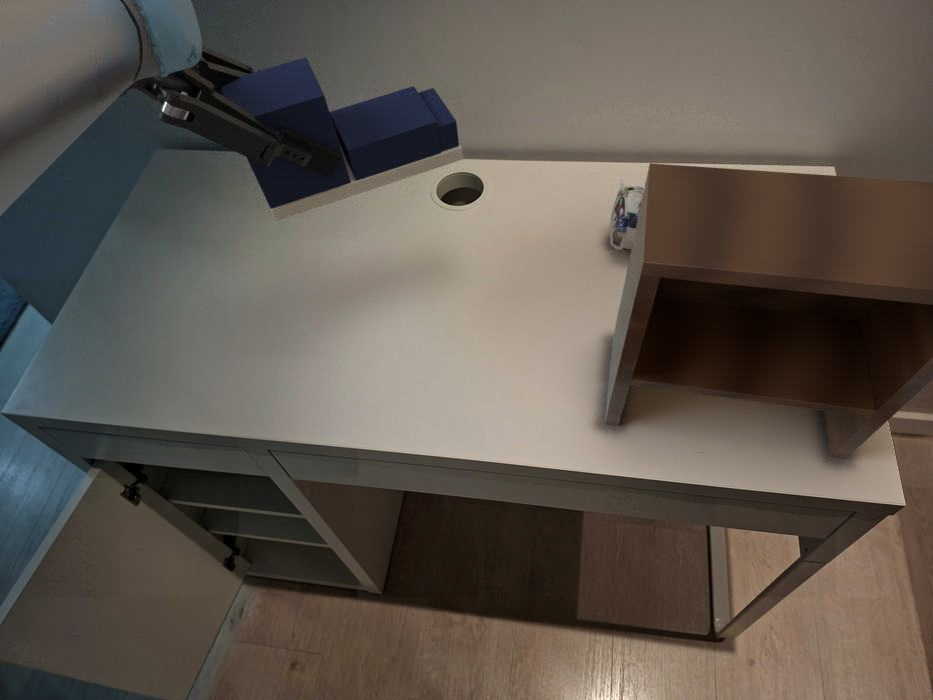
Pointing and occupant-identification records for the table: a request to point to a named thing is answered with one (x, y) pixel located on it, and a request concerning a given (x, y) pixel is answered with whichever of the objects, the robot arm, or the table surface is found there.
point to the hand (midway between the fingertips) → (325, 143)
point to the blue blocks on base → (343, 136)
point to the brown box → (780, 294)
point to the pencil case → (625, 217)
